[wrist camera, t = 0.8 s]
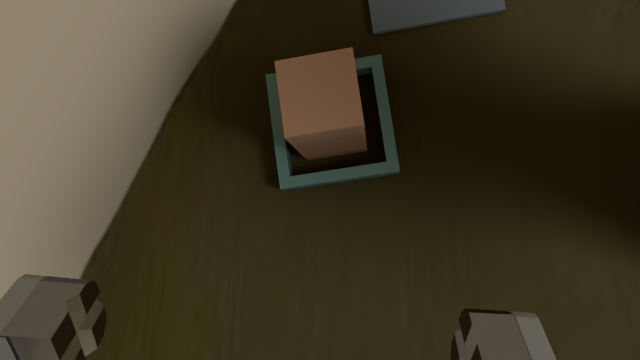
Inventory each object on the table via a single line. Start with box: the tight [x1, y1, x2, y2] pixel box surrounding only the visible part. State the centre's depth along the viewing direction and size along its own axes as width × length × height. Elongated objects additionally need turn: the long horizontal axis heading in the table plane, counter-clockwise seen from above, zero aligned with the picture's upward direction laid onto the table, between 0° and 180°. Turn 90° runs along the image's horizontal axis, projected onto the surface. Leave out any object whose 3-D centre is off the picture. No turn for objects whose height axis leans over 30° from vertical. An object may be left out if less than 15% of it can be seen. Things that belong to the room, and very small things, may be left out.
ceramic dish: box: [265, 54, 400, 191], centre depth 42 cm, size 11×11×3 cm
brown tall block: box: [275, 47, 367, 160], centre depth 38 cm, size 6×6×11 cm
